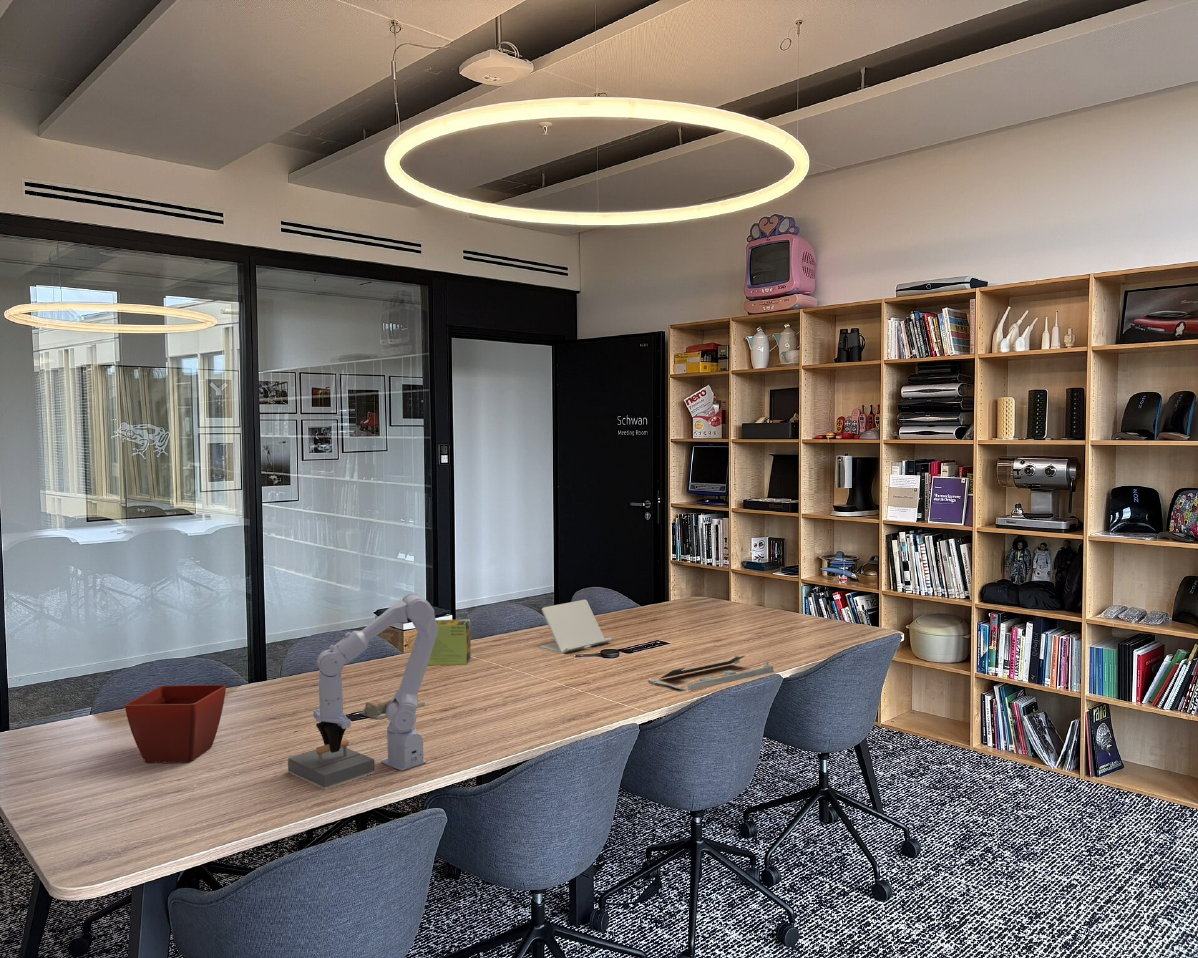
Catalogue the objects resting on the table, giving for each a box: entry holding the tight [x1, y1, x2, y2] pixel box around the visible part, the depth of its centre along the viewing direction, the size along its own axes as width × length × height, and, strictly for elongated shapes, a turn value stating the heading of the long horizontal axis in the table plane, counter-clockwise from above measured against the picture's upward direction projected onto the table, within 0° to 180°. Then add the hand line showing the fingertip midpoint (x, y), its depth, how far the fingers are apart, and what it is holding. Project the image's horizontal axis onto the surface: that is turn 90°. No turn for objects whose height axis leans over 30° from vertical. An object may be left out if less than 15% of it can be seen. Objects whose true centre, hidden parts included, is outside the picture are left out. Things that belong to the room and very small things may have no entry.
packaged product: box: [359, 694, 426, 721], centre depth 276 cm, size 18×5×10 cm
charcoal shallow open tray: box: [287, 753, 376, 791], centre depth 224 cm, size 18×14×4 cm
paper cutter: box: [647, 655, 774, 691], centre depth 309 cm, size 18×45×6 cm, turn 124°
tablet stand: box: [539, 599, 613, 654], centre depth 359 cm, size 18×25×17 cm
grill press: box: [287, 738, 361, 771], centre depth 225 cm, size 12×14×5 cm
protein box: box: [427, 618, 472, 666], centre depth 336 cm, size 10×15×16 cm
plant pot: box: [124, 684, 227, 764], centre depth 238 cm, size 19×19×17 cm
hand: (332, 750), depth 223 cm, fingers closed on grill press, 2 cm apart
